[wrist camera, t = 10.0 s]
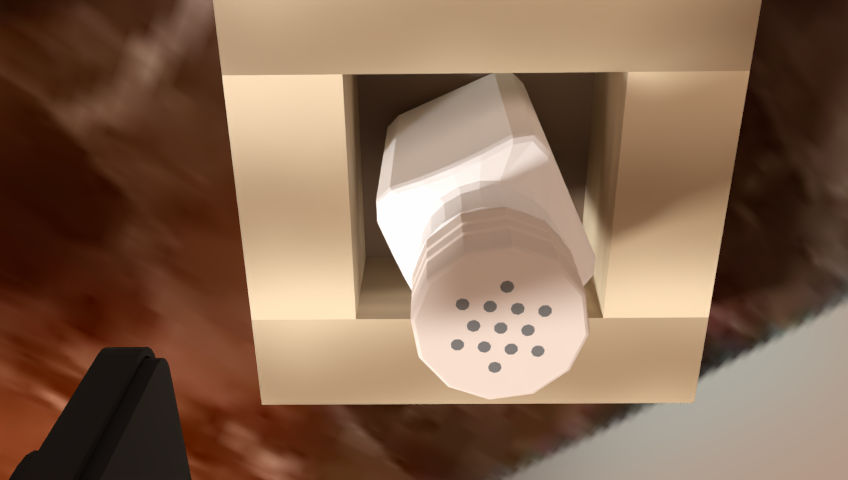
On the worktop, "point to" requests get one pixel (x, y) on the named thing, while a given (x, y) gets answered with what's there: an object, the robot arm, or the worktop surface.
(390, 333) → the socket block
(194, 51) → the worktop surface
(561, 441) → the worktop surface
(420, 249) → the pepper shaker
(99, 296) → the worktop surface
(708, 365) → the worktop surface
